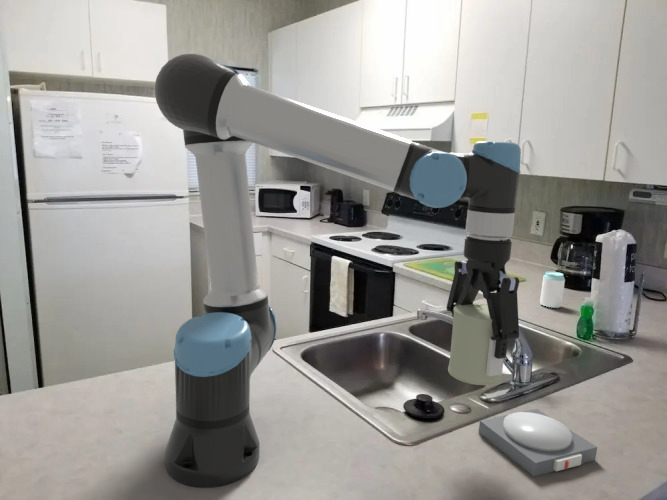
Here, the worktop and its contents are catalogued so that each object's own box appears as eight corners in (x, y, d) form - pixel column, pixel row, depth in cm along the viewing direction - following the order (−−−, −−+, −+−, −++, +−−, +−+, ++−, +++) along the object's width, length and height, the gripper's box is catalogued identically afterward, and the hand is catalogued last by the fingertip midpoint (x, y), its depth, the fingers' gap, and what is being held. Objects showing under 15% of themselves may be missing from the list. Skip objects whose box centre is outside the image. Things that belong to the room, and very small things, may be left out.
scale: (538, 480, 83) (540, 461, 82) (478, 432, 97) (480, 415, 96) (600, 463, 88) (603, 445, 88) (535, 420, 102) (537, 404, 101)
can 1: (491, 363, 95) (498, 301, 93) (509, 386, 86) (517, 317, 84) (442, 362, 95) (447, 299, 92) (455, 384, 86) (462, 316, 83)
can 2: (563, 310, 177) (568, 276, 175) (542, 308, 178) (546, 274, 176) (558, 304, 184) (562, 271, 182) (537, 302, 185) (541, 270, 183)
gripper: (555, 247, 77) (538, 386, 82) (466, 226, 97) (456, 339, 101) (516, 249, 74) (500, 393, 79) (433, 226, 94) (423, 343, 98)
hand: (475, 363), depth 90 cm, fingers closed on can 1, 9 cm apart
